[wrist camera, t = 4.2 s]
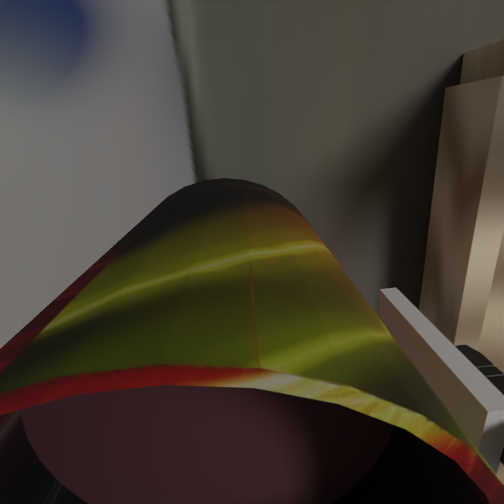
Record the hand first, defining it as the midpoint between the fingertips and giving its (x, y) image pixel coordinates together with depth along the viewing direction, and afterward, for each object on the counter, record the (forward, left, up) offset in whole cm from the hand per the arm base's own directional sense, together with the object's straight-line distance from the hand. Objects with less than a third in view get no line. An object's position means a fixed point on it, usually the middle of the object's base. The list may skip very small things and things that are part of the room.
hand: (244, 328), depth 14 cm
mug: (0, 0, -2) cm, 2 cm away
